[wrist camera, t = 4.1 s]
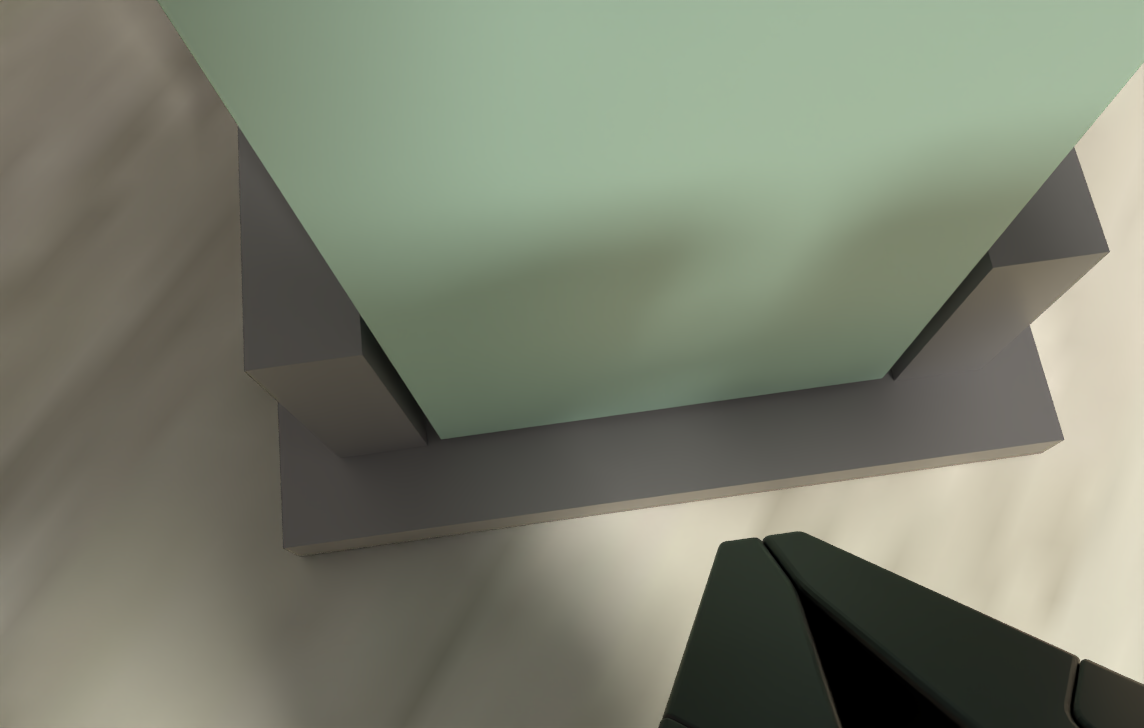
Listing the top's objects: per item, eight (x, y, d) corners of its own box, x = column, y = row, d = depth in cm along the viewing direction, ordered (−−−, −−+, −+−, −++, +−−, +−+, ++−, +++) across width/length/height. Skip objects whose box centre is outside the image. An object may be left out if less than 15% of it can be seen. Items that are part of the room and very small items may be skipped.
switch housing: (1041, 453, 19) (1266, 320, 12) (300, 556, 19) (134, 477, 12) (842, -224, 24) (925, -559, 18) (270, -146, 24) (145, -456, 18)
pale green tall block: (889, 382, 18) (1849, -732, 4) (436, 445, 18) (-185, -463, 4) (827, 133, 20) (1349, -1260, 6) (412, 189, 20) (-81, -1078, 6)
